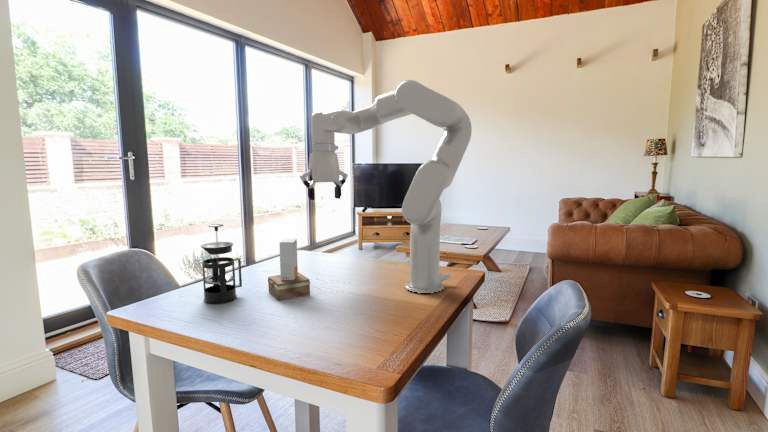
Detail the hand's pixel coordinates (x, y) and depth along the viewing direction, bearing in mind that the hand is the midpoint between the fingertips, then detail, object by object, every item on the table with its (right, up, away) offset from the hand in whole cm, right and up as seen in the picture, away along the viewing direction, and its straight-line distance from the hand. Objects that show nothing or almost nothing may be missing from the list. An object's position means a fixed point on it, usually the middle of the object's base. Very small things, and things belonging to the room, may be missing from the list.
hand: (324, 199), depth 147 cm
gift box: (-10, -30, -13) cm, 34 cm away
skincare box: (-9, -26, -13) cm, 30 cm away
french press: (-29, -31, -17) cm, 46 cm away
